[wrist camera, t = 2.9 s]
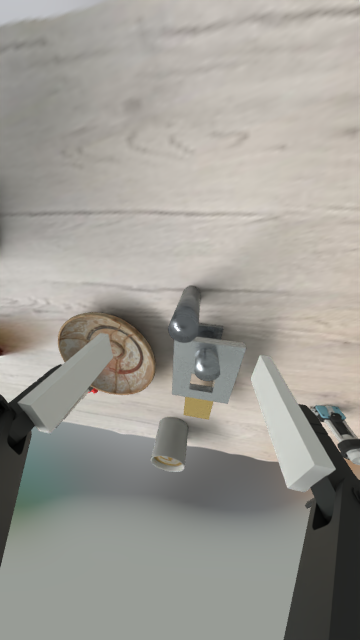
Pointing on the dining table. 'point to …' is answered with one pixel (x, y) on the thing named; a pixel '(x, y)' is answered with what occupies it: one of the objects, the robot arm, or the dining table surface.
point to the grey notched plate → (206, 369)
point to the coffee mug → (170, 445)
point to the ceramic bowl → (127, 349)
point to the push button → (340, 431)
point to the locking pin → (186, 316)
